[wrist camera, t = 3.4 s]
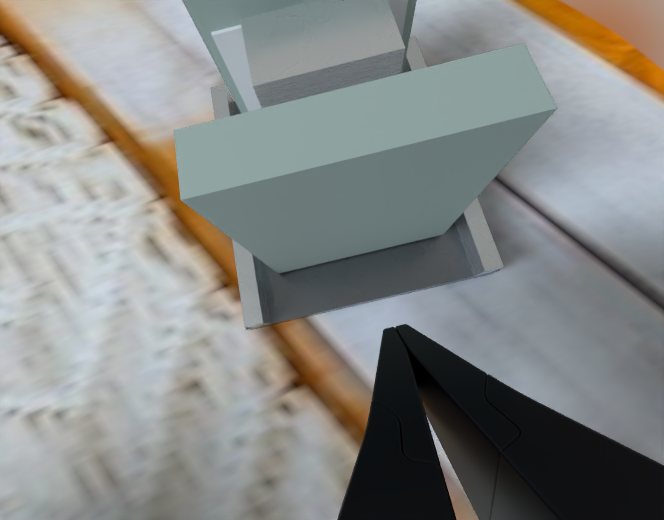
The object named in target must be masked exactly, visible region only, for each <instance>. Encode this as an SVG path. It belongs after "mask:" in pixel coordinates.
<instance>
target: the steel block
mask: <svg viewBox="0 0 664 520" xmlns="http://www.w3.org/2000/svg"><path fill="white" fill-rule="evenodd" d="M240 22H241V27H242V32H243V38H244V43H245V48H246V54H247V59H248V64H249V69H250V75H251V80H252V85H253V88H254V91H255V93H256V95H257V98H258V100H259V103H260V105H261V107H262V108H265V107H269V106H273V105H277V104H281V103H285V102H289V101H293V100H297V99H301V98H305V97H309V96H313V95H317V94H321V93H325V92H329V91H333V90H337V89H341V88H345V87H349V86H353V85H357V84H362V83H366V82H370V81H374V80H378V79H382V78H386V77H390V76H394V75H398V74H401V70H402V64H403V59H404V53H405V46H404V43H403V40H402V37H401V35H400V32H399V29H398V27H397V24H396V21H395V18H394V16H393V13H392V10H391V8H390V5H389V2H388V0H313V1H309V2H305V3H301V4H297V5H293V6H289V7H285V8H281V9H278V10H274V11H270V12H266V13H262V14H258V15H254V16H250V17H246V18H242V19H240Z"/></svg>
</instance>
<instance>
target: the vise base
mask: <svg viewBox="0 0 664 520" xmlns="http://www.w3.org/2000/svg"><path fill="white" fill-rule="evenodd" d="M426 67H427V65H426V63H425V60H424V58H423V55H422V52H421V50H420V47H419V45H418V42H417V39H416V37H415V36H414V37H410V38H409V43H408V49H407V54H406V60H405V65H404V70H403V73H406V72H410V71H414V70H418V69H422V68H426ZM211 95H212V102H213V109H214V116H215V120H217V119H221V118H225V117H229V116H233V115H237V114H241V112H240V110H239V108H238V106H237V104H236V102H235V101H233V99H232V97H231V95H230V93H229V91H228V89H227V87H226V85H225V84H224V85H220V86H216V87H212V88H211ZM232 241H233V248H234V255H235V262H236V269H237V276H238V283H239V290H240V297H241V304H242V311H243V318H244V325H245V327H246V330H252V329H257V328H261V327H265V326H270V325H274V324H278V323H282V322H287V321H291V320H295V319H300V318H304V317H308V316H312V315H317V314H321V313H325V312H330V311H334V310H338V309H342V308H347V307H351V306H355V305H360V304H364V303H368V302H373V301H377V300H381V299H385V298H390V297H394V296H398V295H403V294H407V293H411V292H415V291H420V290H424V289H428V288H433V287H437V286H441V285H445V284H450V283H454V282H458V281H463V280H467V279H471V278H475V277H480V276H484V275H488V274H492V273H495V272H497V271H499V269H500V268H502V267H504V266H503V263H502V260H501V258H500V255H499V253H498V250H497V247H496V245H495V242H494V240H493V237H492V234H491V232H490V229H489V227H488V224H487V221H486V219H485V216H484V214H483V211H482V208H481V206H480V203H479V201H478V198H476V199H475V200H474V201H473V202H472V203H471V204H470V205H469V206H468V208H467V209H466V210H465V211H464V212H463V213H462V214H461V215H460V216H459V218H458V219H457V220H456V221H455V222H454V223H453V224H452V225H451V226H450V227H449V229H448V230H447V231H446V232H445V233H444V234H443V235H439V236H435V237H430V238H426V239H422V240H418V241H414V242H409V243H405V244H401V245H397V246H392V247H388V248H384V249H380V250H376V251H371V252H367V253H363V254H359V255H354V256H350V257H346V258H342V259H338V260H333V261H329V262H325V263H321V264H316V265H312V266H308V267H304V268H300V269H295V270H291V271H287V272H283V273H277V272H275V271H274V270H273V269H271V268H270V267H269V266H267V265H266V264H265V263H263V262H262V261H261V260H260V259H258V258H257V257H256V256H254V255H253V254H252V253H250V252H249V251H248V250H246V249H245V248H244V247H242V246H241V245H240V244H238V243H237V242H236V241H234V240H233V239H232Z"/></svg>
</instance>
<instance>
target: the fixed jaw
mask: <svg viewBox="0 0 664 520" xmlns="http://www.w3.org/2000/svg"><path fill="white" fill-rule="evenodd" d="M182 1H183V3H184V5H185V6H186V8H187V10H188V12H189V14H190V16H191V18H192V20H193V22H194V24H195V26H196V28H197V29H198V31H199V33H200V35H201V37H202V39H203V41H204V43H205V45H206V47H207V49H208V51H209V52H210V54H211V56H212V58H213V60H214V62H215V64H216V66H217V68H218V70H219V72H220V74H221V75H222V77H223V79H224V81H225V83H226V85H227V87H228V89H229V91H230V93H231V95H232V97H233V98H234V100H235V102H236V104H237V106H238V108H239V110H240V112H241V113H245V112H249V111H253V110H257V109H261V108H262V107H261V105H260V103H259V100H258V98H257V95H256V93H255V91H254V88H253V85H252V80H251V75H250V69H249V64H248V59H247V54H246V48H245V43H244V38H243V32H242V27H241V22H240V19H242V18H246V17H250V16H254V15H258V14H262V13H266V12H270V11H274V10H278V9H281V8H285V7H289V6H293V5H297V4H301V3H305V2H309V1H313V0H182ZM388 2H389V5H390V8H391V10H392V13H393V16H394V18H395V21H396V24H397V27H398V29H399V32H400V35H401V37H402V40H403V43H404V46H405V53H404V59H403V64H402V70H401V74H402V73H403V70H404V65H405V60H406V54H407V49H408V43H409V38H410V32H411V27H412V22H413V16H414V11H415V5H416V0H388Z"/></svg>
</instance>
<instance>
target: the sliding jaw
mask: <svg viewBox="0 0 664 520" xmlns="http://www.w3.org/2000/svg"><path fill="white" fill-rule="evenodd" d="M556 109H557V106H556V104H555V102H554V100H553V98H552V96H551V94H550V92H549V90H548V89H547V87H546V85H545V83H544V81H543V79H542V77H541V75H540V73H539V71H538V69H537V67H536V65H535V63H534V61H533V59H532V57H531V55H530V53H529V51H528V49H527V47H526V45H525V43H522V44H518V45H514V46H510V47H506V48H502V49H498V50H494V51H490V52H486V53H482V54H478V55H474V56H470V57H466V58H462V59H458V60H454V61H450V62H446V63H442V64H438V65H434V66H430V67H426V68H422V69H418V70H414V71H410V72H406V73H402V74H398V75H394V76H390V77H386V78H382V79H378V80H374V81H370V82H366V83H362V84H357V85H353V86H349V87H345V88H341V89H337V90H333V91H329V92H325V93H321V94H317V95H313V96H309V97H305V98H301V99H297V100H293V101H289V102H285V103H281V104H277V105H273V106H269V107H265V108H261V109H257V110H253V111H249V112H245V113H241V114H237V115H233V116H229V117H225V118H221V119H217V120H213V121H209V122H205V123H201V124H197V125H193V126H189V127H185V128H181V129H177V130H174V137H175V147H176V157H177V167H178V177H179V187H180V197H181V201H183V202H184V203H185V204H187V205H188V206H189V207H191V208H192V209H193V210H195V211H196V212H197V213H199V214H200V215H201V216H203V217H204V218H205V219H207V220H208V221H209V222H210V223H212V224H213V225H214V226H216V227H217V228H218V229H220V230H221V231H222V232H224V233H225V234H226V235H228V236H229V237H230V238H232V239H233V240H234V241H236V242H237V243H238V244H240V245H241V246H242V247H244V248H245V249H246V250H248V251H249V252H250V253H252V254H253V255H254V256H256V257H257V258H258V259H260V260H261V261H262V262H263V263H265V264H266V265H267V266H269V267H270V268H271V269H273V270H274V271H275V272H277V273H283V272H287V271H291V270H295V269H300V268H304V267H308V266H312V265H316V264H321V263H325V262H329V261H333V260H338V259H342V258H346V257H350V256H354V255H359V254H363V253H367V252H371V251H376V250H380V249H384V248H388V247H392V246H397V245H401V244H405V243H409V242H414V241H418V240H422V239H426V238H430V237H435V236H439V235H443V234H444V233H445V232H446V231H447V230H448V229H449V227H450V226H451V225H452V224H453V223H454V222H455V221H456V220H457V219H458V218H459V216H460V215H461V214H462V213H463V212H464V211H465V210H466V209H467V208H468V206H469V205H470V204H471V203H472V202H473V201H474V200H475V199H476V198H477V197H478V195H479V194H480V193H481V192H482V191H483V190H484V189H485V188H486V187H487V185H488V184H489V183H490V182H491V181H492V180H493V179H494V178H495V177H496V176H497V174H498V173H499V172H500V171H501V170H502V169H503V168H504V167H505V166H506V164H507V163H508V162H509V161H510V160H511V159H512V158H513V157H514V156H515V155H516V153H517V152H518V151H519V150H520V149H521V148H522V147H523V146H524V145H525V143H526V142H527V141H528V140H529V139H530V138H531V137H532V136H533V135H534V134H535V132H536V131H537V130H538V129H539V128H540V127H541V126H542V125H543V124H544V122H545V121H546V120H547V119H548V118H549V117H550V116H551V115H552V114H553V112H554V111H555V110H556Z"/></svg>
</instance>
